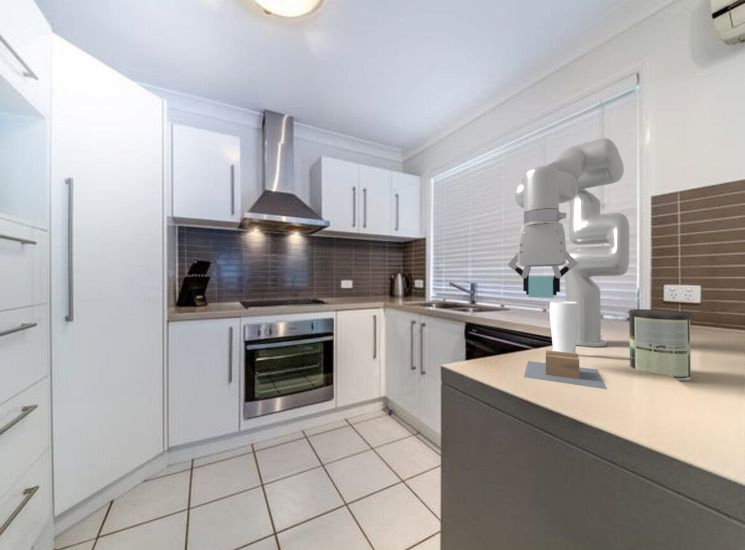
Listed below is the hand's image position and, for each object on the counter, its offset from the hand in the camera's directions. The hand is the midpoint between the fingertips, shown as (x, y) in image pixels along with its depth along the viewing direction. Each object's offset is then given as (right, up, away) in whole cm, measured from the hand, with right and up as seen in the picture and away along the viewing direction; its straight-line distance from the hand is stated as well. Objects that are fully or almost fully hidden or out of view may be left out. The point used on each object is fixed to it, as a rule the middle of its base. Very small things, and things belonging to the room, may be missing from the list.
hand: (541, 294), depth 74 cm
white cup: (+12, -18, +11) cm, 24 cm away
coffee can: (+24, -18, -5) cm, 30 cm away
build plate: (+1, -18, -7) cm, 19 cm away
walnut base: (+1, -17, -7) cm, 18 cm away
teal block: (0, -1, 0) cm, 1 cm away
